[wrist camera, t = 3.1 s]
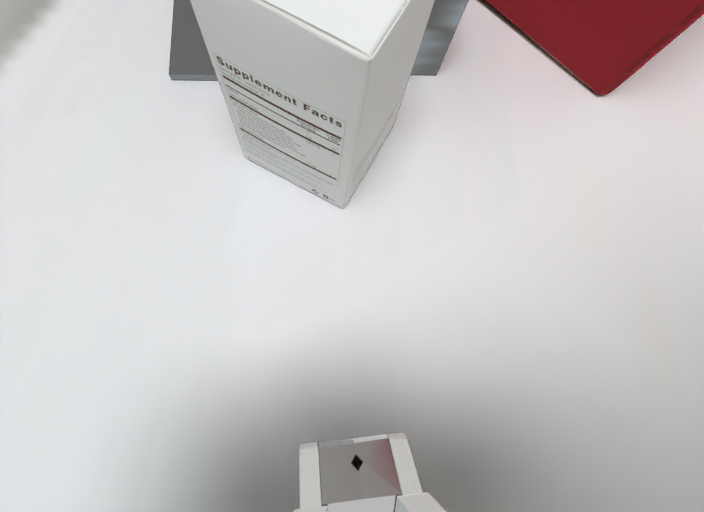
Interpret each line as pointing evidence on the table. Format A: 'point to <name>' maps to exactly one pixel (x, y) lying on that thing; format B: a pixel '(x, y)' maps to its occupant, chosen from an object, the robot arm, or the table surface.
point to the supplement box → (313, 81)
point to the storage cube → (601, 33)
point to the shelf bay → (438, 35)
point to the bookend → (188, 46)
